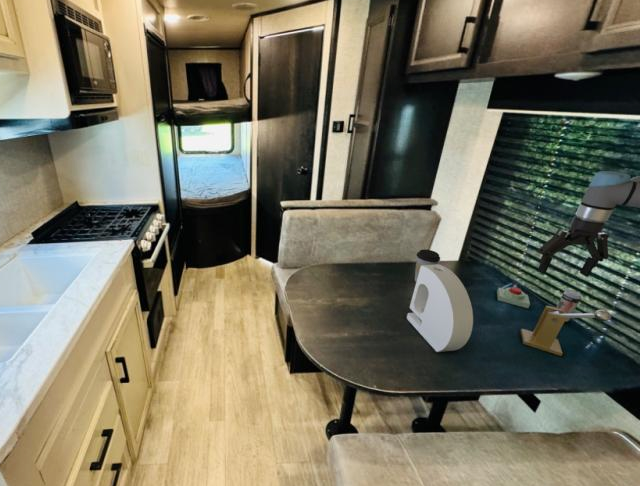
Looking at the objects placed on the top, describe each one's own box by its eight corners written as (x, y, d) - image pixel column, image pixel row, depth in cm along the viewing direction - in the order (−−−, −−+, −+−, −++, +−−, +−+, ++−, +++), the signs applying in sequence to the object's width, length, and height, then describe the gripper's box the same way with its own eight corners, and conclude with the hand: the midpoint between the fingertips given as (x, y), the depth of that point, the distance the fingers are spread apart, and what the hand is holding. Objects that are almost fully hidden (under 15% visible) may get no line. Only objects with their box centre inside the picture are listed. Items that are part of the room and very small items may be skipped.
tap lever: (610, 317, 99) (608, 307, 99) (613, 323, 97) (611, 313, 96) (548, 317, 108) (546, 308, 108) (550, 323, 106) (548, 313, 105)
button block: (525, 298, 135) (529, 291, 133) (528, 308, 129) (531, 300, 127) (496, 291, 140) (499, 283, 138) (497, 300, 134) (501, 292, 132)
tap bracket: (556, 341, 111) (573, 310, 105) (561, 356, 105) (579, 323, 99) (520, 330, 116) (534, 300, 111) (522, 343, 110) (538, 312, 105)
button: (519, 291, 133) (521, 288, 132) (520, 296, 130) (522, 292, 130) (509, 289, 135) (510, 285, 134) (509, 293, 132) (511, 289, 131)
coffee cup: (431, 278, 149) (440, 250, 143) (433, 288, 141) (442, 260, 135) (409, 274, 153) (417, 247, 147) (410, 284, 145) (418, 255, 139)
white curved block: (422, 317, 124) (438, 261, 113) (462, 357, 105) (485, 295, 94) (406, 318, 123) (420, 263, 113) (443, 359, 104) (464, 296, 94)
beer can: (548, 314, 125) (561, 289, 120) (561, 314, 125) (574, 289, 120) (558, 322, 121) (572, 296, 116) (571, 322, 120) (586, 297, 115)
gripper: (622, 216, 105) (592, 270, 114) (540, 212, 109) (517, 265, 118) (645, 225, 99) (611, 281, 108) (556, 220, 102) (531, 275, 111)
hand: (562, 273), depth 113 cm, fingers open, 13 cm apart
